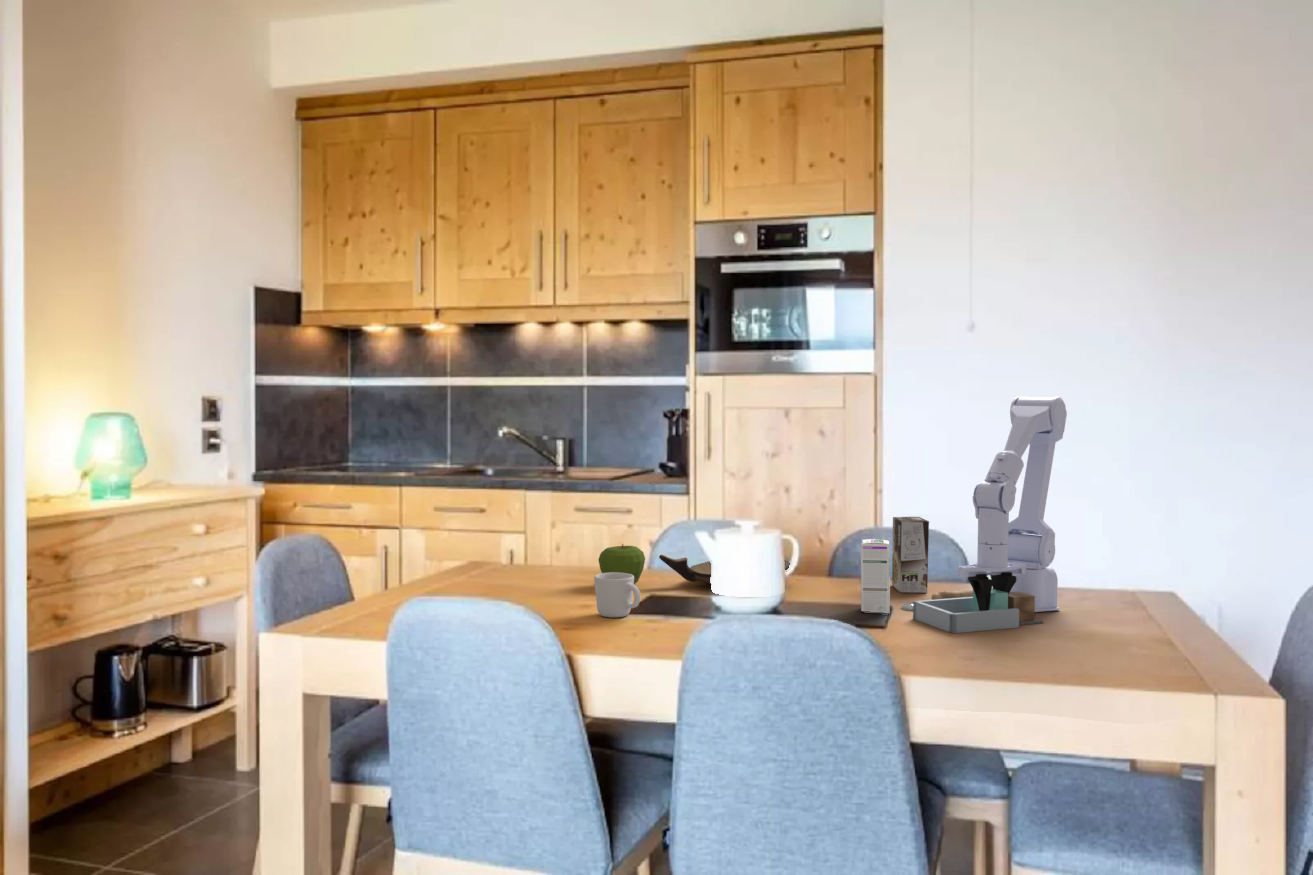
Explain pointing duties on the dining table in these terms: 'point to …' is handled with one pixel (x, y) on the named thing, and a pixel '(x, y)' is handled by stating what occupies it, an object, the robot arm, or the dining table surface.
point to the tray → (963, 615)
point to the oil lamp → (693, 569)
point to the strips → (1030, 622)
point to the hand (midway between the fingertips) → (991, 611)
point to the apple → (622, 560)
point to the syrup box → (875, 575)
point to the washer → (907, 606)
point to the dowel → (952, 594)
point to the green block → (993, 600)
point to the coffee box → (910, 554)
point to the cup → (615, 594)
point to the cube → (1022, 605)
